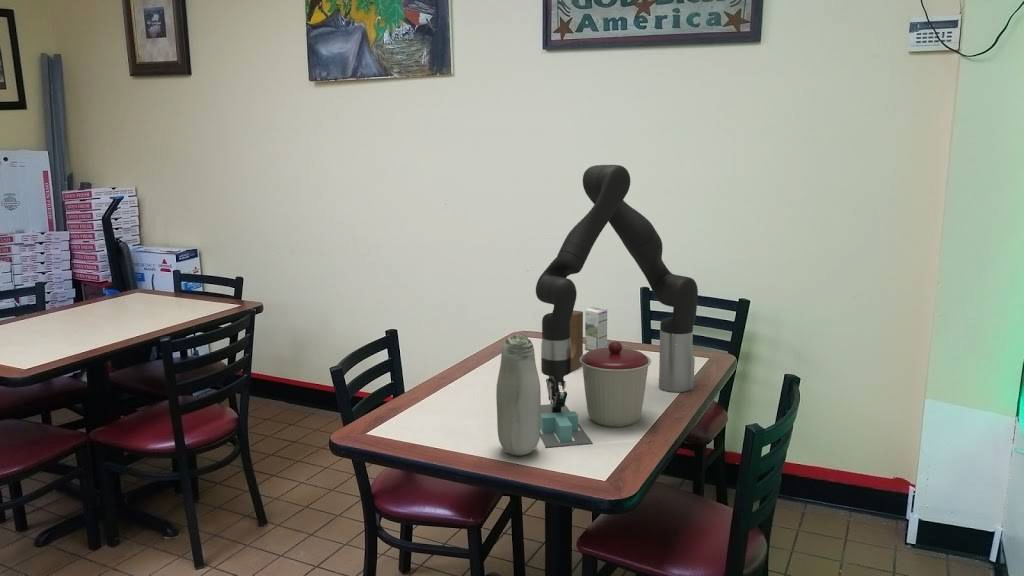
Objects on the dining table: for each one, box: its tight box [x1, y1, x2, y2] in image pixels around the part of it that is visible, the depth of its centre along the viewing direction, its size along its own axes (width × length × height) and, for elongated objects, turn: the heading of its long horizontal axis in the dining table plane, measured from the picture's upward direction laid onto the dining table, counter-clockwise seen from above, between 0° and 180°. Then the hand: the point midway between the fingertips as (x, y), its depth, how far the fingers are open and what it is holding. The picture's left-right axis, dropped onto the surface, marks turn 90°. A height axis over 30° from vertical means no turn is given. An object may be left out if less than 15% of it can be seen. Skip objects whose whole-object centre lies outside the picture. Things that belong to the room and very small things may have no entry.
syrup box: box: [584, 306, 608, 351], centre depth 258 cm, size 6×6×14 cm
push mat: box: [539, 403, 593, 449], centre depth 191 cm, size 12×28×1 cm, turn 10°
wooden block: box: [570, 309, 584, 372], centre depth 237 cm, size 9×4×18 cm, turn 148°
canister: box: [580, 340, 652, 428], centre depth 192 cm, size 18×18×21 cm
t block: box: [540, 411, 579, 442], centre depth 183 cm, size 9×9×4 cm
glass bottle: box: [495, 334, 542, 457], centre depth 172 cm, size 10×10×28 cm
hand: (556, 419), depth 191 cm, fingers closed
